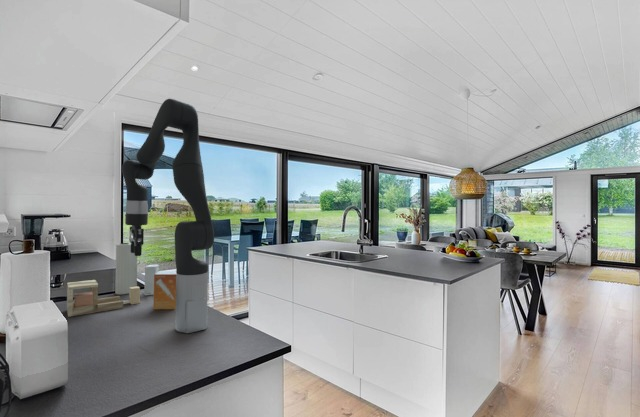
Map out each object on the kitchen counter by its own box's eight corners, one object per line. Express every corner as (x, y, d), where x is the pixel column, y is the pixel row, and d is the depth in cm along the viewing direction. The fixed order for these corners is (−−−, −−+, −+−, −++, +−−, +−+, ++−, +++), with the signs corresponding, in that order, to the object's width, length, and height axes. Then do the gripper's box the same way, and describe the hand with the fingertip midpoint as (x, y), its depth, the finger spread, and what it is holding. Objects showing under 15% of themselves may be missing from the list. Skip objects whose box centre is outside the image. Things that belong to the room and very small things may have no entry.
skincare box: (155, 295, 137) (155, 266, 137) (144, 295, 136) (144, 267, 135) (158, 291, 142) (159, 264, 142) (148, 291, 141) (148, 264, 141)
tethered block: (140, 303, 124) (140, 288, 124) (75, 314, 111) (75, 296, 111) (137, 300, 128) (137, 285, 128) (74, 310, 115) (74, 293, 115)
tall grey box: (111, 293, 137) (112, 243, 137) (125, 290, 143) (126, 242, 143) (123, 296, 134) (124, 244, 134) (136, 292, 140) (137, 243, 140)
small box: (152, 310, 117) (153, 274, 117) (159, 304, 123) (159, 270, 123) (176, 309, 118) (177, 273, 118) (181, 304, 124) (182, 270, 124)
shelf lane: (123, 307, 119) (123, 281, 119) (68, 316, 108) (68, 287, 108) (119, 302, 126) (119, 277, 126) (66, 310, 115) (67, 282, 115)
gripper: (151, 213, 122) (150, 256, 122) (143, 211, 133) (142, 251, 133) (128, 213, 117) (127, 258, 117) (122, 211, 128) (121, 252, 128)
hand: (135, 254), depth 125 cm, fingers open, 8 cm apart
